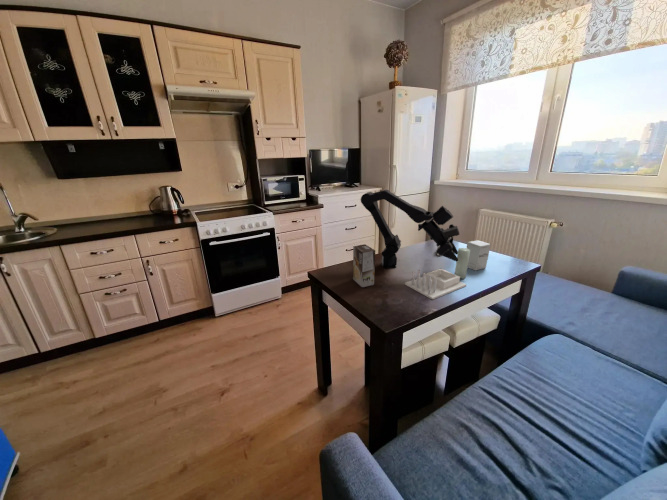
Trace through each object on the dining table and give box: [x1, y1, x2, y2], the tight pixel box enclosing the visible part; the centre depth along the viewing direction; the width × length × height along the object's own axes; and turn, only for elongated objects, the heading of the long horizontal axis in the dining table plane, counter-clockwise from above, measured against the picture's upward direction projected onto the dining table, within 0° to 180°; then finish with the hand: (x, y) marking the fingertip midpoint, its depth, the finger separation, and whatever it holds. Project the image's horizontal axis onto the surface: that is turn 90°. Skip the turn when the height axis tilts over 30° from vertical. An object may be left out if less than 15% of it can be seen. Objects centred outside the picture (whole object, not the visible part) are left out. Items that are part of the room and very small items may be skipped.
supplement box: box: [465, 239, 491, 271], centre depth 132 cm, size 7×7×13 cm
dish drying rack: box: [404, 268, 467, 300], centre depth 116 cm, size 21×15×7 cm
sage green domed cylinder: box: [454, 247, 470, 280], centre depth 122 cm, size 5×5×13 cm
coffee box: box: [352, 243, 376, 288], centre depth 118 cm, size 9×6×16 cm
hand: (457, 257), depth 122 cm, fingers open, 9 cm apart
